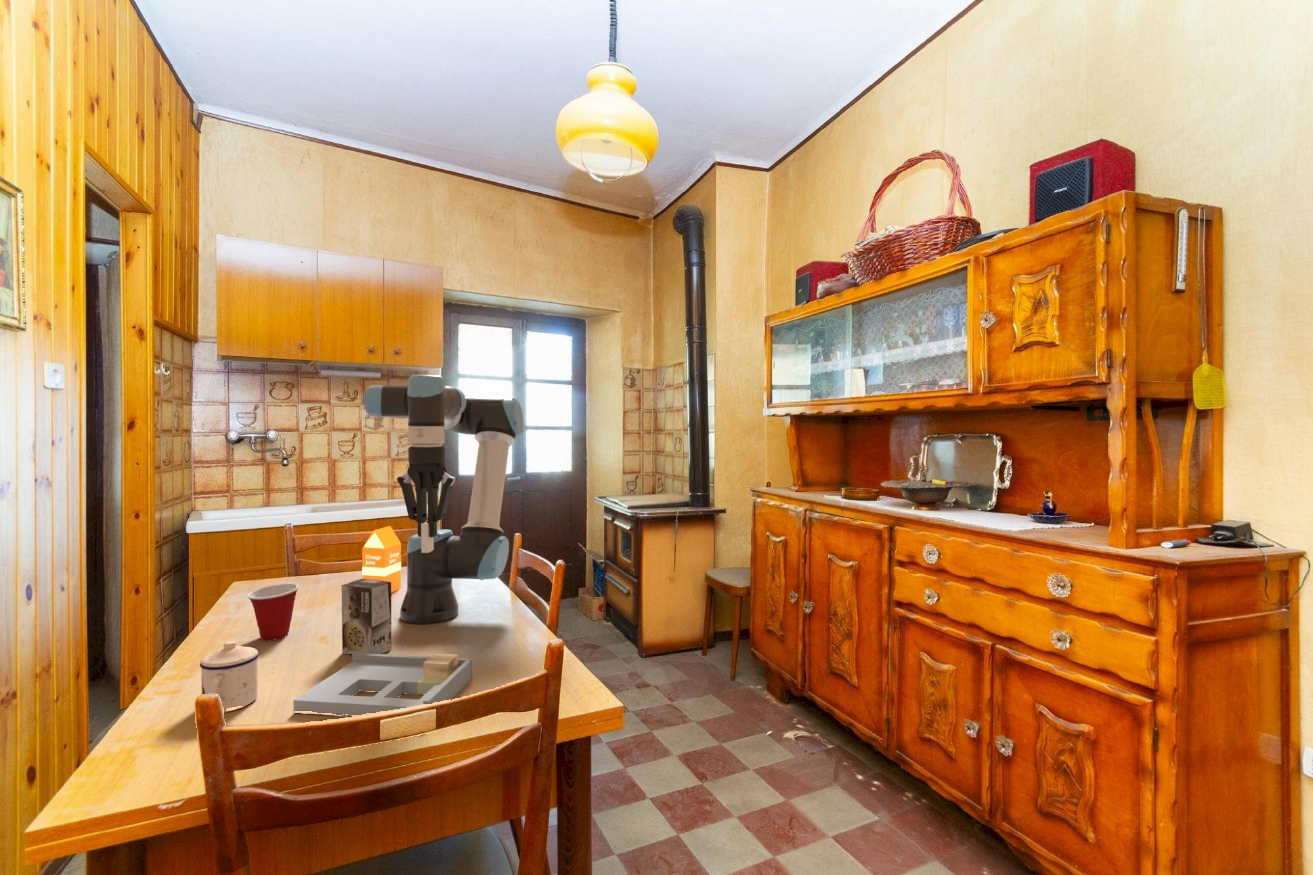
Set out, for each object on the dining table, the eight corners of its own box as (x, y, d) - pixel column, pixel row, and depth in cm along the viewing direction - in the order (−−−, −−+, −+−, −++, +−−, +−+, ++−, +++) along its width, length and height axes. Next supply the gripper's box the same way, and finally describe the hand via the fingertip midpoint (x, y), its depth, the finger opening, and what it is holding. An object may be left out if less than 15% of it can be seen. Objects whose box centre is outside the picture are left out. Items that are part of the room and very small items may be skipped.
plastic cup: (241, 636, 149) (241, 588, 148) (291, 626, 157) (290, 580, 156) (253, 648, 141) (253, 597, 141) (305, 636, 149) (305, 588, 149)
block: (434, 667, 125) (435, 653, 125) (458, 668, 125) (458, 654, 125) (423, 677, 120) (423, 662, 120) (447, 679, 120) (447, 664, 120)
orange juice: (361, 594, 187) (361, 529, 186) (379, 586, 195) (379, 525, 195) (384, 595, 185) (385, 531, 185) (401, 588, 194) (401, 526, 194)
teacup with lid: (213, 695, 117) (213, 635, 117) (266, 690, 119) (266, 632, 119) (182, 725, 105) (182, 659, 105) (241, 719, 108) (241, 654, 108)
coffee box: (392, 649, 142) (393, 581, 142) (371, 659, 136) (371, 588, 135) (362, 644, 145) (362, 577, 145) (340, 653, 139) (340, 584, 138)
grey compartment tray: (355, 671, 129) (355, 652, 129) (472, 677, 127) (472, 658, 126) (291, 714, 110) (291, 693, 110) (428, 723, 107) (428, 701, 107)
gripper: (389, 445, 130) (390, 554, 131) (447, 447, 128) (448, 556, 130) (407, 443, 137) (408, 546, 138) (462, 444, 136) (462, 548, 137)
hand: (427, 551), depth 134 cm, fingers closed
